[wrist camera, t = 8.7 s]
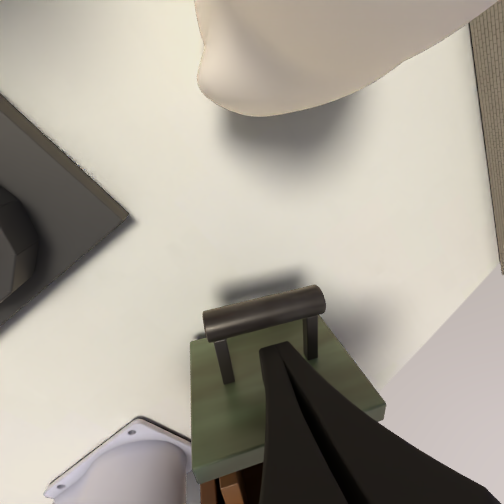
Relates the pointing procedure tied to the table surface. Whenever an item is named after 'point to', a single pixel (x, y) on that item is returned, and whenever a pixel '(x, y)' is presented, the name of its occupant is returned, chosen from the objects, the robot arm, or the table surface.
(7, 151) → the button box
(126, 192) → the table surface
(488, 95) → the house
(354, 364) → the drawer
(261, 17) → the figurine
